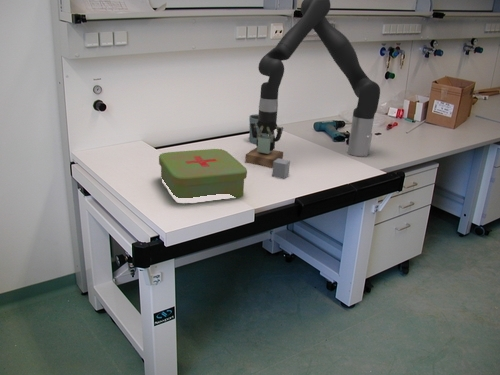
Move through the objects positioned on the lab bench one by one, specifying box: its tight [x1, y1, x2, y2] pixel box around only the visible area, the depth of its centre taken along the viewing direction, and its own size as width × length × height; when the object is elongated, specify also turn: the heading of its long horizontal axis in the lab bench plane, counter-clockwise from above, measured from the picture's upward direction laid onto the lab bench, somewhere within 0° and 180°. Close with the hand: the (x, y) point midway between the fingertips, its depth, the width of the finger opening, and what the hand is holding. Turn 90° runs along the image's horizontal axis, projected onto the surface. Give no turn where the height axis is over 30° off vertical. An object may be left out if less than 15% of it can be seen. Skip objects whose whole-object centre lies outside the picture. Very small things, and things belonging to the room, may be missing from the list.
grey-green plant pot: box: [248, 113, 269, 145], centre depth 228 cm, size 10×10×12 cm
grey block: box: [271, 158, 291, 180], centre depth 190 cm, size 5×5×6 cm
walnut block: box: [245, 146, 284, 169], centre depth 205 cm, size 12×12×4 cm
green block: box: [256, 135, 274, 154], centre depth 203 cm, size 5×5×6 cm
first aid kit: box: [158, 148, 248, 199], centre depth 173 cm, size 26×26×10 cm
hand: (265, 149), depth 204 cm, fingers closed on green block, 5 cm apart
